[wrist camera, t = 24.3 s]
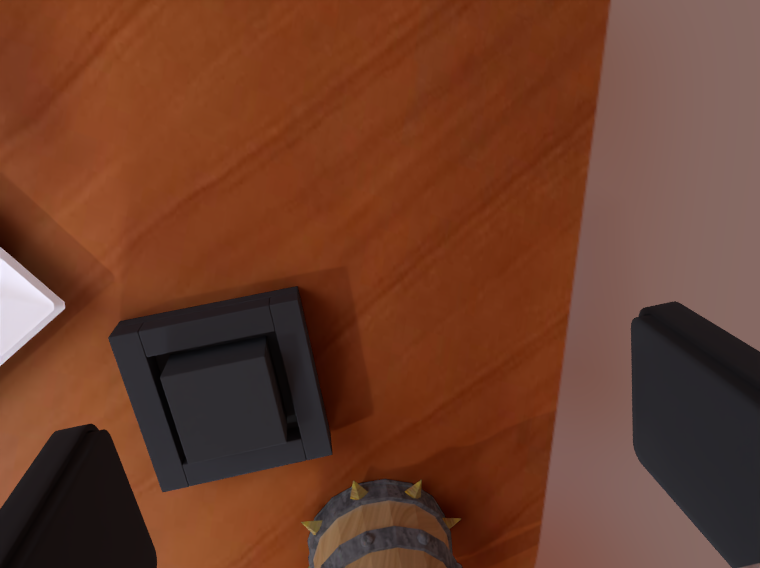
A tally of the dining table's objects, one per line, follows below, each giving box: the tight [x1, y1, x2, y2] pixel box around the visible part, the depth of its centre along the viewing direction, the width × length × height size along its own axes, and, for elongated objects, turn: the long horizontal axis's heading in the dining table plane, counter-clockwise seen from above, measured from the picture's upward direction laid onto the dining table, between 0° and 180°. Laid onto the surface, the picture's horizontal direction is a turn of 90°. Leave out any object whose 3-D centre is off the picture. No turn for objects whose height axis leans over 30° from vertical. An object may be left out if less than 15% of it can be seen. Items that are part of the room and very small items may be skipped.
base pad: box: [108, 286, 332, 492], centre depth 37 cm, size 11×11×2 cm
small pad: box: [160, 336, 287, 464], centre depth 36 cm, size 6×6×3 cm
